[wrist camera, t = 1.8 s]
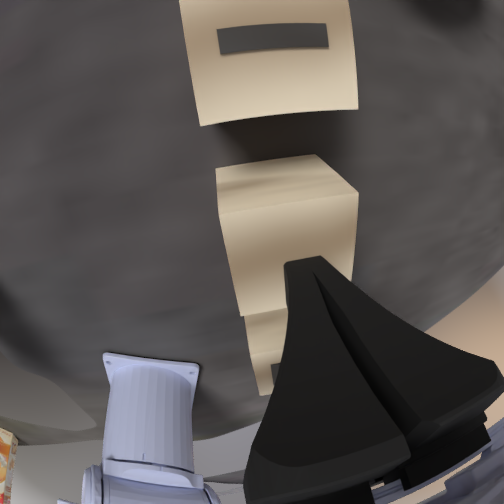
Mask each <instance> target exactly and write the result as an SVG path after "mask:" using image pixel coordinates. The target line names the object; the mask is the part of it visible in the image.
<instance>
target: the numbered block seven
mask: <svg viewBox="0 0 504 504" xmlns="http://www.w3.org/2000/svg"><path fill="white" fill-rule="evenodd" d="M244 318H245V325H246V331H247V338H248V344H249V351H250V356H251V360H252V365H253V369H254V373H255V377H256V381H257V385H258V389H259V393H260V396H262V395H268V394H272V391H273V388H274V385H275V382H276V378H277V374H278V370H279V366H280V362H281V358H282V353H283V348H284V343H285V336H286V329H287V319H288V309H287V308H283V309H278V310H272V311H267V312H262V313H257V314H251V315H246V316H244Z"/></svg>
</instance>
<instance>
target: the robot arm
mask: <svg viewBox="0 0 504 504" xmlns="http://www.w3.org/2000/svg"><path fill="white" fill-rule="evenodd" d="M283 267H284V281H285V295H286V305H287V309H288V319H287V329H286V336H285V343H284V348H283V353H282V358H281V362H280V366H279V370H278V374H277V378H276V382H275V385H274V388H273V391H272V394H271V397H270V400H269V403H268V406H267V409H266V412H265V414H264V417H263V420H262V422H261V424H260V427H259V429H258V431H257V434H256V436H255V439H254V441H253V443H252V446H251V451H250V455H249V459H248V462H247V466H246V470H245V474H244V480H243V488H244V494H245V498H246V504H388V503H390V502H393V501H395V500H397V499H399V498H402V497H404V496H406V495H409V494H411V493H413V492H415V491H417V490H419V489H421V488H423V487H425V486H427V485H429V484H431V483H432V482H434V481H436V480H438V479H440V478H442V477H443V476H445V475H447V474H449V473H450V472H452V471H454V470H455V469H457V468H459V467H460V466H462V465H463V464H465V463H467V462H468V461H470V460H471V459H473V458H474V457H475V456H477V455H479V454H480V453H481V452H482V454H481V458H480V459H479V460H478V461H476V462H474V463H473V464H471V465H469V466H468V467H466V468H464V469H462V470H461V471H459V472H458V473H456V474H454V475H453V476H452V477H450V478H449V479H447V480H446V481H445V482H444V484H445V486H446V489H445V490H443V491H441V492H440V493H438V494H436V495H434V496H432V497H430V498H428V499H426V500H424V501H422V502H420V503H418V504H504V418H502V419H501V420H500V421H498V422H497V423H496V424H494V425H493V426H492V427H490V428H489V429H487V430H486V428H485V425H484V422H486V421H487V417H486V415H485V413H484V411H485V410H486V409H487V408H488V407H489V406H490V405H491V404H492V403H493V402H494V401H495V400H496V399H497V398H498V397H499V396H500V395H501V394H502V393H503V392H504V377H503V375H502V374H501V372H500V370H499V369H498V367H497V366H496V364H495V362H494V361H492V360H489V359H486V358H483V357H480V356H477V355H474V354H471V353H468V352H465V351H463V350H460V349H458V348H456V347H453V346H451V345H448V344H446V343H444V342H442V341H440V340H437V339H436V338H434V337H431V336H430V335H428V334H426V333H424V332H422V331H420V330H418V329H417V328H415V327H413V326H411V325H410V324H408V323H406V322H405V321H403V320H402V319H400V318H399V317H397V316H395V315H394V314H392V313H391V312H389V311H388V310H386V309H385V308H384V307H382V306H381V305H380V304H378V303H377V302H376V301H374V300H373V299H372V298H370V297H369V296H368V295H366V294H365V293H364V292H363V291H362V290H360V289H359V288H358V287H357V286H356V285H354V284H353V283H352V282H351V281H350V280H348V279H347V278H346V277H345V276H344V275H343V274H341V273H340V272H339V271H338V270H337V269H336V268H335V267H334V266H332V265H331V264H330V263H329V262H328V261H327V260H326V259H325V258H323V257H322V256H321V255H319V256H314V257H309V258H304V259H298V260H293V261H288V262H286V263H285V264H284V265H283ZM103 361H104V365H105V369H106V372H107V376H108V379H109V383H110V386H111V388H110V394H109V401H108V407H107V415H106V423H105V431H104V441H103V452H102V462H101V464H100V465H99V466H97V465H91V466H90V467H89V468H87V469H85V471H84V476H83V486H82V504H221V501H220V499H219V497H218V496H217V494H216V493H215V492H214V490H213V489H212V488H211V487H210V486H209V485H207V484H205V483H203V475H198V474H194V459H193V439H192V412H191V411H192V405H193V400H194V394H195V389H196V384H197V379H198V373H199V365H198V364H195V363H186V362H175V361H166V360H157V359H149V358H141V357H134V356H127V355H120V354H114V353H107V352H106V353H104V354H103ZM383 482H384V486H381V487H379V488H376V489H373V490H371V487H372V486H375V485H377V484H380V483H383ZM57 504H77V503H73V502H69V501H66V500H62V499H58V500H57Z"/></svg>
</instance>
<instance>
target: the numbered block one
mask: <svg viewBox="0 0 504 504" xmlns="http://www.w3.org/2000/svg"><path fill="white" fill-rule="evenodd" d="M179 3H180V9H181V16H182V22H183V29H184V35H185V41H186V47H187V53H188V59H189V65H190V71H191V77H192V83H193V88H194V94H195V99H196V105H197V110H198V116H199V121H200V126H204V125H210V124H215V123H221V122H226V121H232V120H239V119H245V118H252V117H260V116H268V115H277V114H286V113H297V112H309V111H325V110H350V109H358V91H357V75H356V62H355V51H354V41H353V32H352V24H351V17H350V10H349V4H348V0H179Z"/></svg>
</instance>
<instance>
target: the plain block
mask: <svg viewBox="0 0 504 504" xmlns="http://www.w3.org/2000/svg"><path fill="white" fill-rule="evenodd" d="M216 182H217V196H218V210H219V218H220V223H221V228H222V232H223V237H224V242H225V247H226V251H227V256H228V261H229V265H230V270H231V274H232V279H233V284H234V288H235V293H236V297H237V301H238V306H239V310H240V315H241V316H246V315H251V314H257V313H262V312H267V311H272V310H278V309H283V308H287V305H286V295H285V281H284V267H283V265H284V264H285V263H286V262H288V261H293V260H298V259H304V258H309V257H314V256H319V255H321V256H322V257H323V258H325V259H326V260H327V261H328V262H329V263H330V264H331V265H332V266H334V267H335V268H336V269H337V270H338V271H339V272H340V273H341V274H343V275H344V276H345V277H346V278H347V279H348V280H350V281H351V277H352V269H353V260H354V250H355V239H356V227H357V213H358V195H359V193H358V192H357V191H356V190H355V189H354V188H353V187H352V186H351V185H350V184H349V183H348V182H346V181H345V180H344V179H343V178H342V177H341V176H340V175H339V174H338V173H336V172H335V171H334V170H333V169H332V168H331V167H330V166H328V165H327V164H326V163H325V162H324V161H323V160H321V159H320V158H319V157H318V156H317V155H316V154H312V155H304V156H295V157H287V158H280V159H272V160H265V161H259V162H252V163H246V164H240V165H234V166H228V167H222V168H217V169H216Z"/></svg>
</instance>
